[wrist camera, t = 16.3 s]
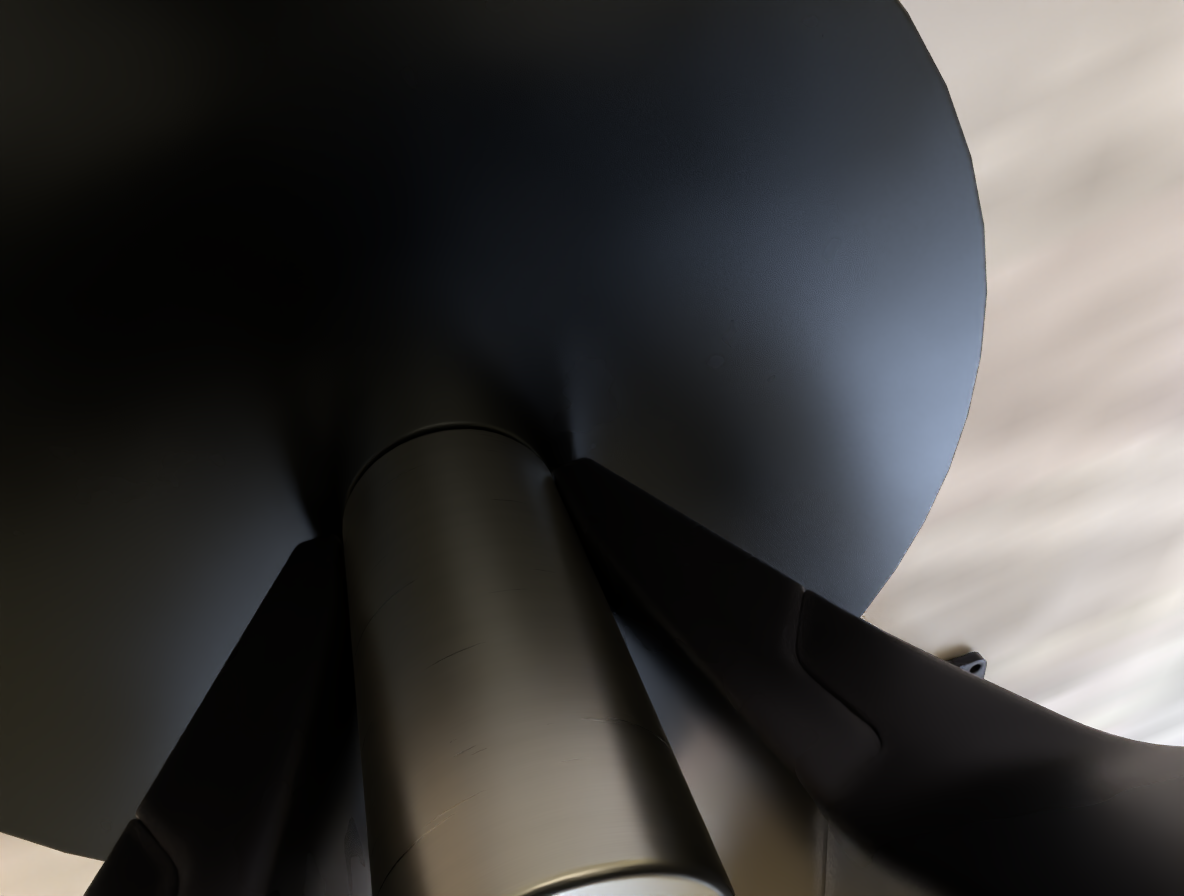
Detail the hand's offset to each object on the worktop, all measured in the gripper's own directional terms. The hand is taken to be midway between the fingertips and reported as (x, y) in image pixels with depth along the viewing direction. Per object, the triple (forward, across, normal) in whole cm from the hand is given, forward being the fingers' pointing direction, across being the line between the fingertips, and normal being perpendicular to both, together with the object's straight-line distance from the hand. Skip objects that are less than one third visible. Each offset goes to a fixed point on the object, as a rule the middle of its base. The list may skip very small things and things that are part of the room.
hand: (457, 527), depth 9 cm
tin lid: (+1, 0, 0) cm, 1 cm away
